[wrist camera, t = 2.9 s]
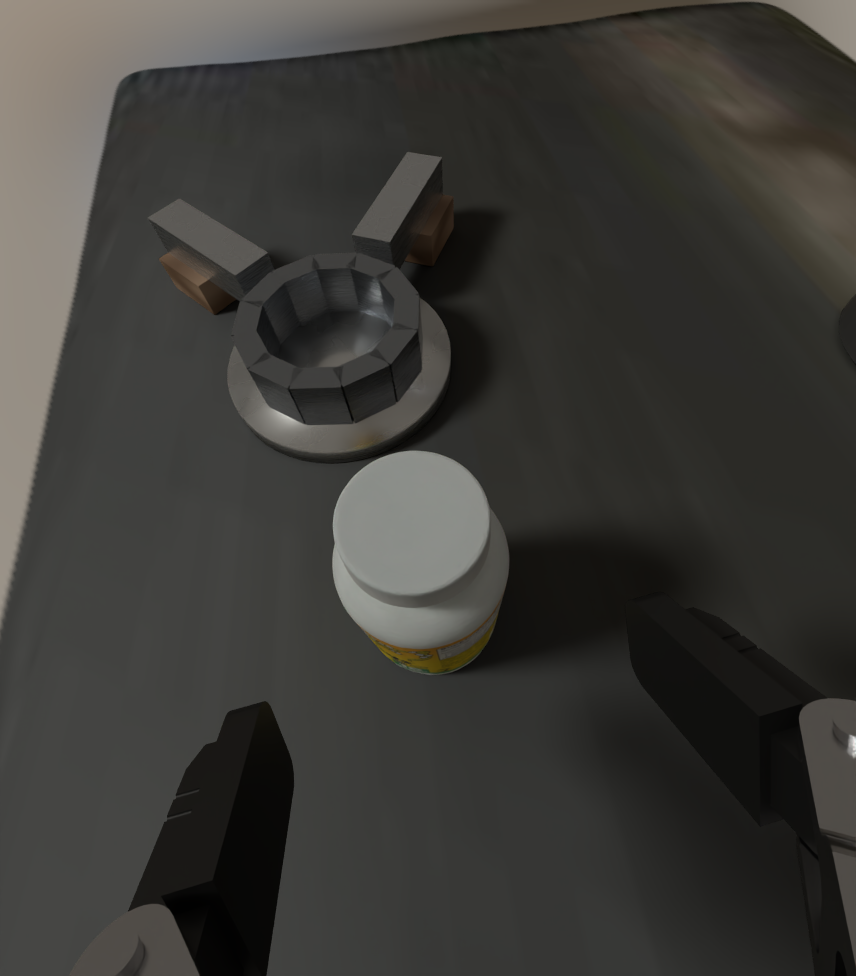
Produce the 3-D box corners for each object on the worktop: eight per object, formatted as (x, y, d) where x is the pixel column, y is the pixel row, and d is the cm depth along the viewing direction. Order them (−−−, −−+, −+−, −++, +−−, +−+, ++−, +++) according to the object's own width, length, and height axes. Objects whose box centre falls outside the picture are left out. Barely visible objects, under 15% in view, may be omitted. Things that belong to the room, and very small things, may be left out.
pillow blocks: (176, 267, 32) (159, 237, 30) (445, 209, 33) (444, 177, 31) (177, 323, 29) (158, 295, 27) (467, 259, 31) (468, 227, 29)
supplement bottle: (521, 624, 20) (568, 539, 11) (415, 706, 19) (380, 679, 10) (444, 527, 22) (436, 396, 14) (345, 595, 21) (268, 498, 12)
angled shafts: (292, 149, 34) (281, 113, 32) (462, 200, 30) (462, 163, 28) (151, 266, 29) (129, 232, 27) (335, 345, 25) (325, 312, 23)
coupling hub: (321, 272, 31) (303, 211, 27) (489, 336, 27) (493, 277, 24) (191, 406, 26) (150, 354, 23) (373, 502, 23) (357, 459, 19)
